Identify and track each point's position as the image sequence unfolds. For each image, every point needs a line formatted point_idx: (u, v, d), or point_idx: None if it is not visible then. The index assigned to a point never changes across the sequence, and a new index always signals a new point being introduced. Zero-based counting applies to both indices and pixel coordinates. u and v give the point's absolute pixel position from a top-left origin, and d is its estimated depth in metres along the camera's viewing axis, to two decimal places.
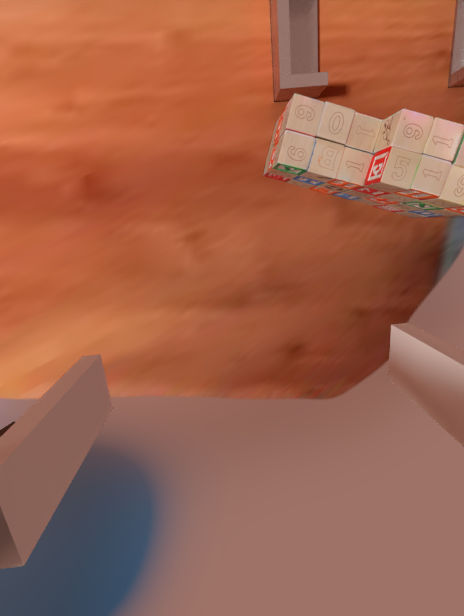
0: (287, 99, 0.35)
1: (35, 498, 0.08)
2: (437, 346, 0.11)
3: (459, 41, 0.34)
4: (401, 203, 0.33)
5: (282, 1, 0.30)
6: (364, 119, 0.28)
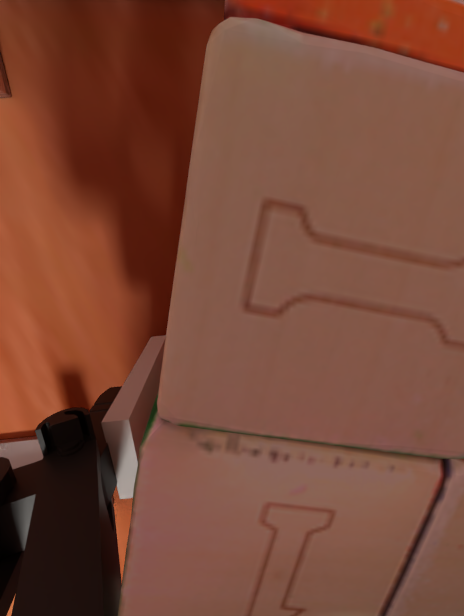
0: None
1: None
2: None
3: None
4: None
5: None
6: None
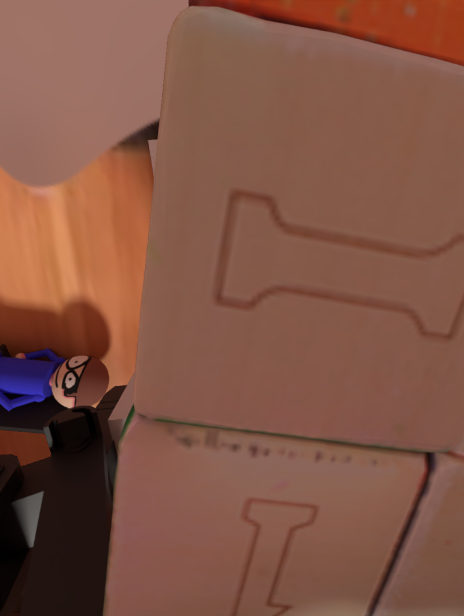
0: None
1: None
2: None
3: None
4: None
5: None
6: None
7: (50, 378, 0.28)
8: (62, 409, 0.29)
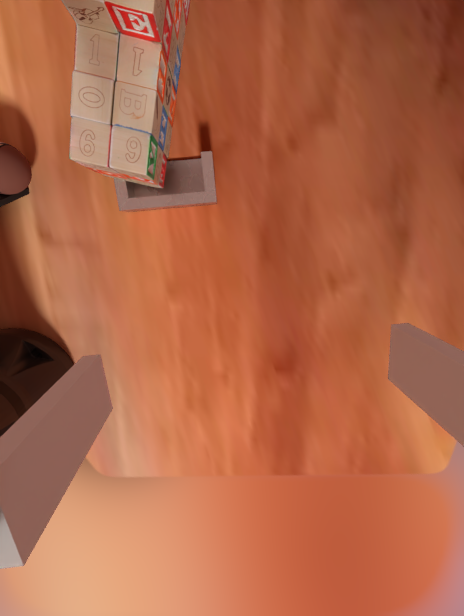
0: None
1: (35, 498, 0.08)
2: (437, 346, 0.11)
3: None
4: None
5: (149, 202, 0.33)
6: (80, 54, 0.21)
7: None
8: None
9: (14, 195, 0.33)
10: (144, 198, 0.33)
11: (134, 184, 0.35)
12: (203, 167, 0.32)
